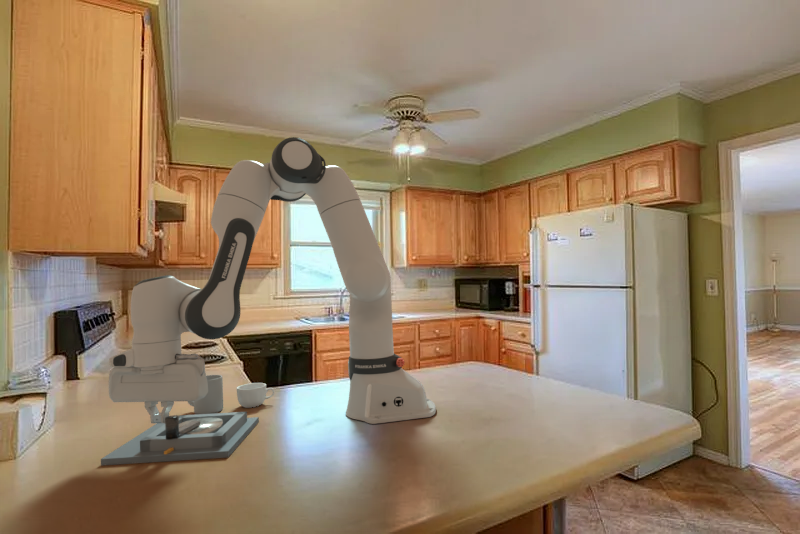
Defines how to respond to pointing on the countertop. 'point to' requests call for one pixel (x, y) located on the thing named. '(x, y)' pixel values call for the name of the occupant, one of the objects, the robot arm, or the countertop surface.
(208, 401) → the cup
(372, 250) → the robot arm
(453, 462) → the countertop surface
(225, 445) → the panel
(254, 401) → the teacup
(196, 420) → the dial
